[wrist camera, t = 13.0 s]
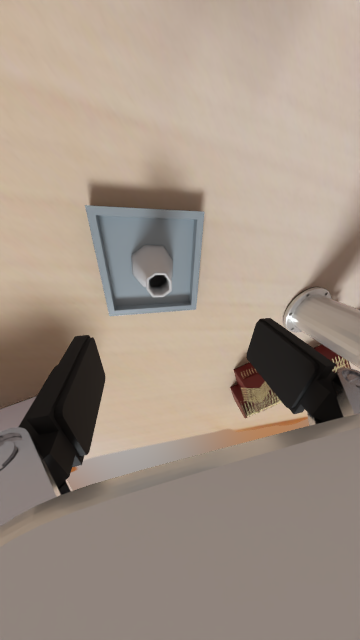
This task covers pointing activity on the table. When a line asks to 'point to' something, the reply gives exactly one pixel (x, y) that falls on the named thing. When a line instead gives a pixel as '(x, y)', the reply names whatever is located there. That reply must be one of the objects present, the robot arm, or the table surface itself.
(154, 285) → the flask
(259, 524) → the robot arm
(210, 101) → the table surface
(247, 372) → the toy houses
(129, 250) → the tray
